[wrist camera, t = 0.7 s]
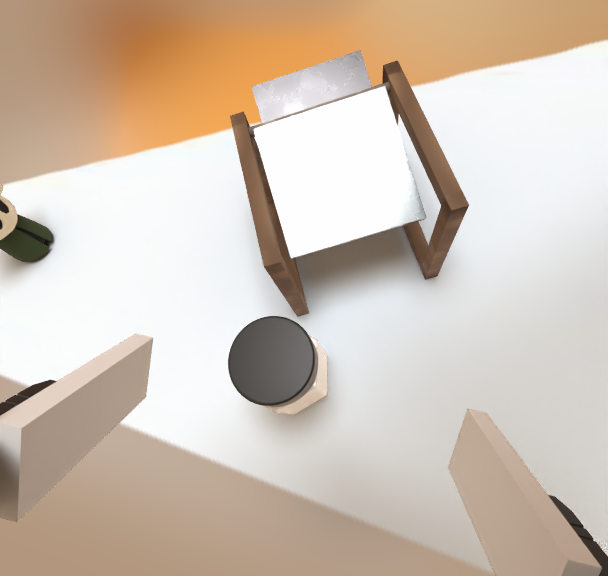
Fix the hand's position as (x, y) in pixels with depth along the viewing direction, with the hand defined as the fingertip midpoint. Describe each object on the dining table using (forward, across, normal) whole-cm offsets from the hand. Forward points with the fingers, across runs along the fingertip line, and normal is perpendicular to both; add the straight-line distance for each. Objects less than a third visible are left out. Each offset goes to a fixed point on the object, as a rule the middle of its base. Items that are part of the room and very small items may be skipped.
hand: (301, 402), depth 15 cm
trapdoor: (+34, -2, +12) cm, 36 cm away
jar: (+28, -1, -12) cm, 30 cm away
